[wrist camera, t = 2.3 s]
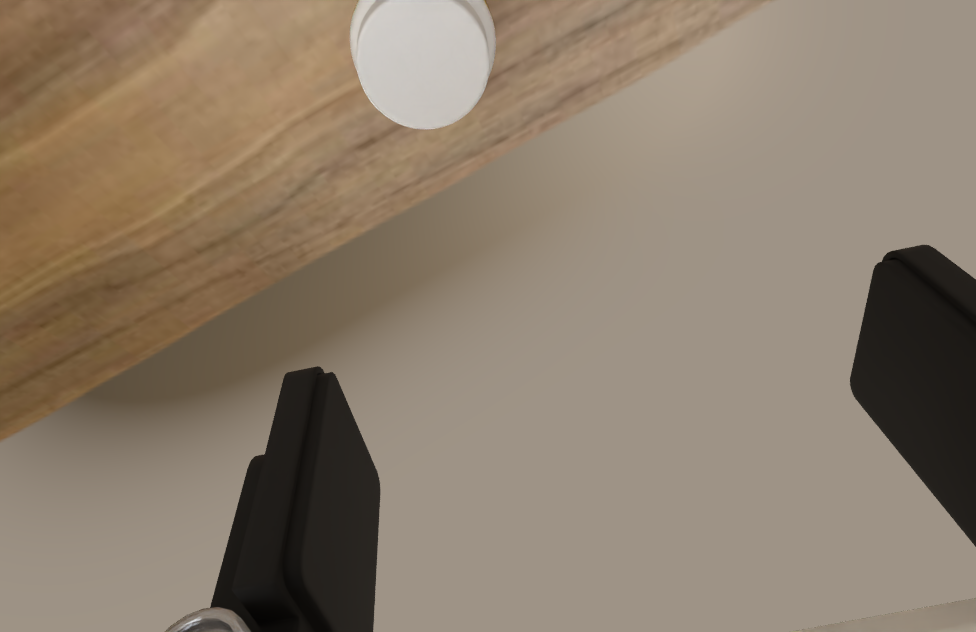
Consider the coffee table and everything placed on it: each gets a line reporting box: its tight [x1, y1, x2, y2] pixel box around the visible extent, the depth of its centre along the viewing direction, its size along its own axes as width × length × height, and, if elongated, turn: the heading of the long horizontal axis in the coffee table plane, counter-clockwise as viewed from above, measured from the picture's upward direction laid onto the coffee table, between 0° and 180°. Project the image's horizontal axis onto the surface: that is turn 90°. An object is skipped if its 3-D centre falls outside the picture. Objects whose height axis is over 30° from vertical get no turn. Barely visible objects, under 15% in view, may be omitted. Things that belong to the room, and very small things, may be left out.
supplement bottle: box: [350, 0, 496, 129], centre depth 22 cm, size 5×5×8 cm
